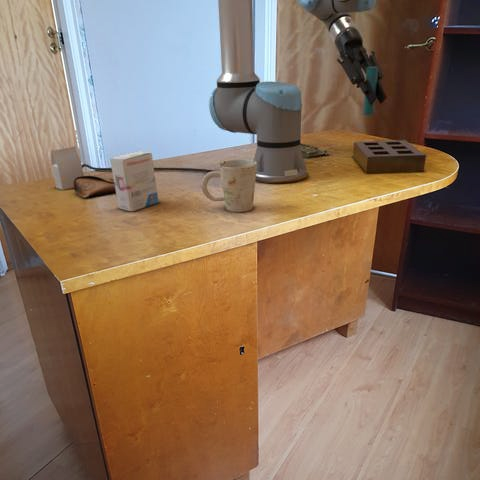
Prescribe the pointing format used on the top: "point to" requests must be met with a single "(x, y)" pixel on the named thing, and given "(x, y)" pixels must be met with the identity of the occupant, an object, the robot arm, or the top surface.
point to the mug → (234, 184)
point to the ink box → (134, 180)
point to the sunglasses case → (94, 185)
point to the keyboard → (311, 151)
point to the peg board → (388, 156)
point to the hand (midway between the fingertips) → (378, 100)
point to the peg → (372, 79)
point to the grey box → (66, 167)
